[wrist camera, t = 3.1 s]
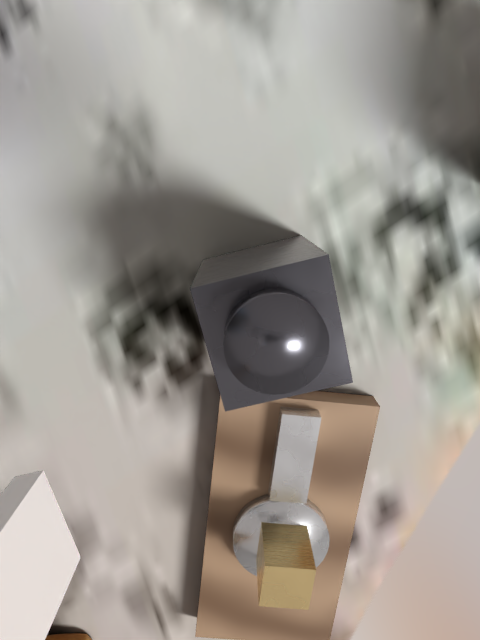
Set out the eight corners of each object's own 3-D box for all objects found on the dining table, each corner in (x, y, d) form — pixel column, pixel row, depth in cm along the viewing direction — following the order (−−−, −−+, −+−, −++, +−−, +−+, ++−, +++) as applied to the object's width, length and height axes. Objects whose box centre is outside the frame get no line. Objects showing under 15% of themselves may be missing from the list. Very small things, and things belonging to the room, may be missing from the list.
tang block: (221, 381, 29) (218, 429, 23) (372, 396, 29) (406, 447, 24) (197, 618, 34) (189, 704, 29) (324, 627, 35) (341, 713, 29)
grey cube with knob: (203, 259, 27) (186, 294, 18) (301, 235, 26) (334, 258, 17) (227, 351, 28) (224, 424, 19) (320, 329, 28) (359, 394, 19)
